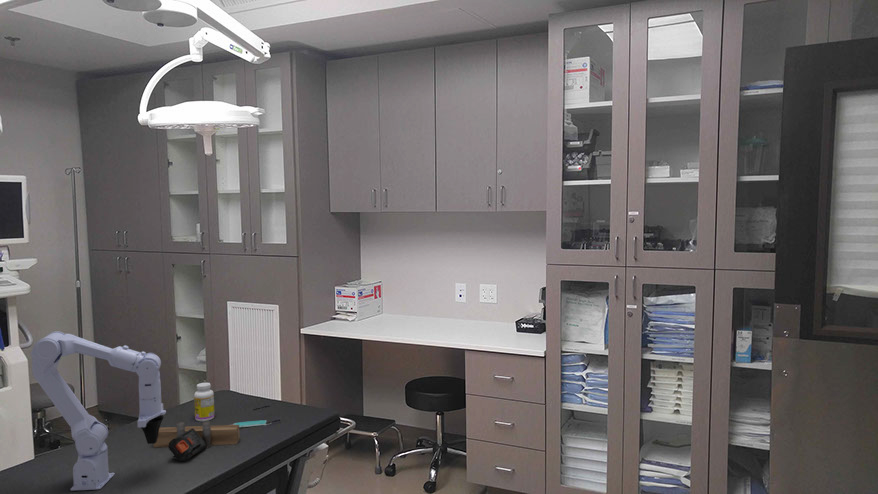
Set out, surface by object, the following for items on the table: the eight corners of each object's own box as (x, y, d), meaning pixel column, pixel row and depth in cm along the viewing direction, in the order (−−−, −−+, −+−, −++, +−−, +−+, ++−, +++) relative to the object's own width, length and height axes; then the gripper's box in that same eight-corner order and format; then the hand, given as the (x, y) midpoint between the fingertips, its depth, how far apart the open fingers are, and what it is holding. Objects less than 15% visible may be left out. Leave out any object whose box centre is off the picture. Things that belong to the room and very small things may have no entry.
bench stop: (235, 447, 196) (234, 422, 196) (151, 450, 194) (149, 426, 193) (239, 439, 203) (238, 415, 202) (158, 442, 200) (157, 418, 200)
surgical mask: (271, 404, 226) (284, 411, 219) (271, 415, 226) (284, 422, 219) (216, 417, 212) (227, 425, 205) (216, 429, 213) (228, 437, 205)
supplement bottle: (194, 417, 224) (193, 382, 223) (213, 414, 226) (212, 380, 225) (195, 423, 218) (194, 388, 217) (215, 420, 220) (214, 385, 219)
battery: (172, 469, 185) (188, 456, 183) (159, 445, 186) (175, 433, 185) (197, 456, 196) (213, 445, 195) (184, 434, 197) (200, 423, 196)
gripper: (155, 404, 169) (157, 452, 170) (173, 388, 183) (174, 432, 184) (128, 405, 168) (131, 453, 169) (148, 389, 182) (150, 433, 183)
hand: (152, 442), depth 176 cm, fingers closed
